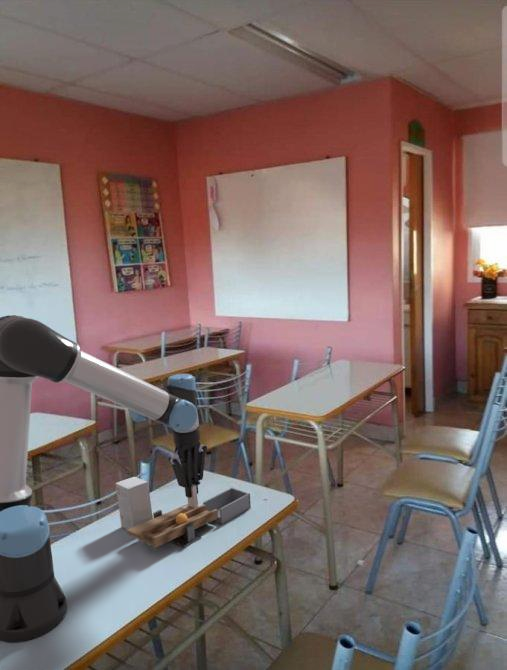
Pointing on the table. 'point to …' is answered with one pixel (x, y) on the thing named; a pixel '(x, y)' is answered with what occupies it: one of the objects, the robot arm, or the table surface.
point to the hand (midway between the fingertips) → (193, 505)
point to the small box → (133, 502)
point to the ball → (181, 519)
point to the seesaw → (171, 525)
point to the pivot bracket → (185, 538)
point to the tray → (228, 504)
